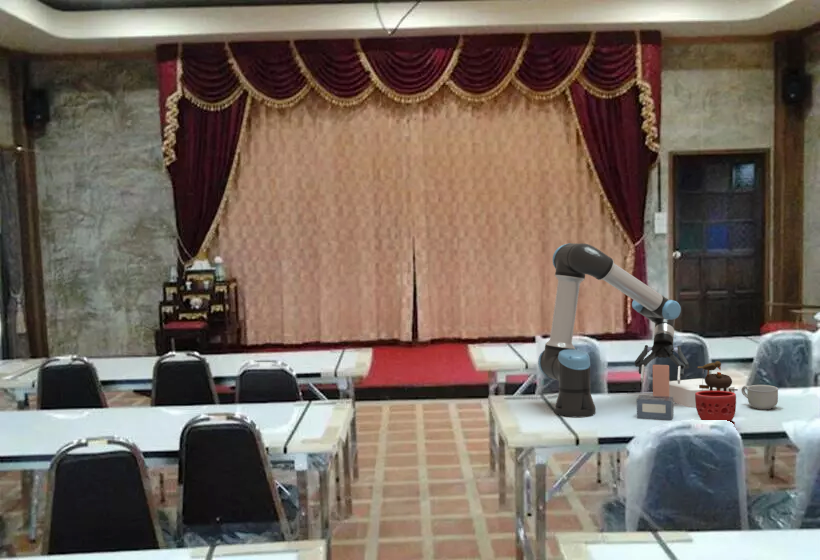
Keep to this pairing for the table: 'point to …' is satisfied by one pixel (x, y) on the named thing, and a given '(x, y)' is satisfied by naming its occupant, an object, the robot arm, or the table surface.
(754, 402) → the teacup
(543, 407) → the table surface
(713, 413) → the plant pot
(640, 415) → the block
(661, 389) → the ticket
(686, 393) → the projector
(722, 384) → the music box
